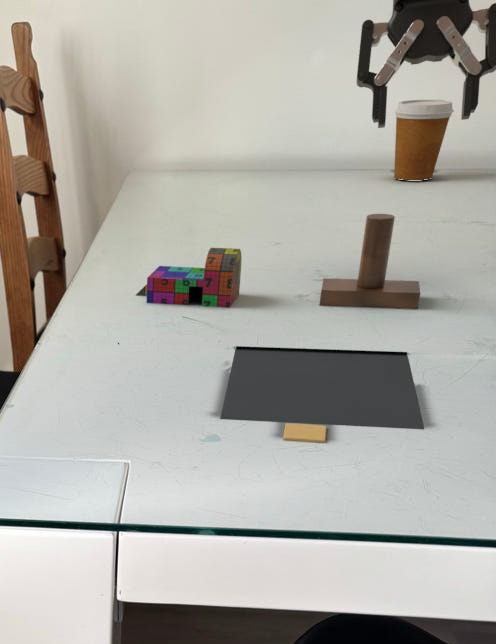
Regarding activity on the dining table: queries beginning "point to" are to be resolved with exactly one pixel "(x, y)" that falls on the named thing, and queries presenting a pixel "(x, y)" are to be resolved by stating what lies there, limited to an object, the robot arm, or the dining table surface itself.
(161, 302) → the block
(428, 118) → the disposable coffee cup
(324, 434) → the tan flat square block
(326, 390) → the scrub mat
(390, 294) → the scrub brush
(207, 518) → the dining table surface
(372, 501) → the dining table surface
